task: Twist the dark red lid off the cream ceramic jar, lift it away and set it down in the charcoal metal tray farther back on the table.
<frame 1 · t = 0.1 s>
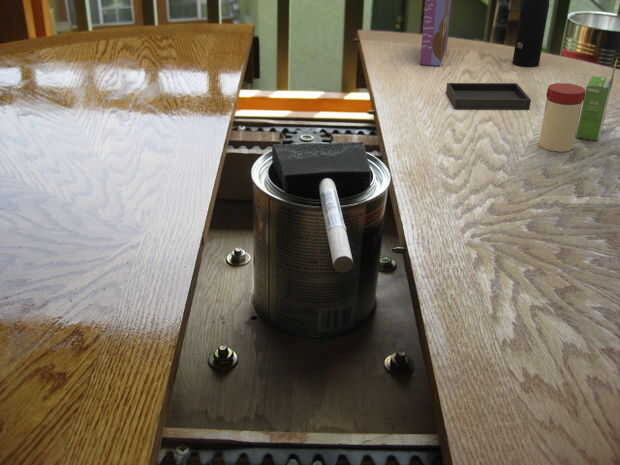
jar: (555, 145, 118), on the table
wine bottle: (525, 64, 164), on the table
tray: (486, 100, 139), on the table
jar lid: (566, 90, 112), point 10 cm above the table, screwed on, not yet turned
ink box: (588, 134, 123), on the table
cereal box: (433, 57, 170), on the table
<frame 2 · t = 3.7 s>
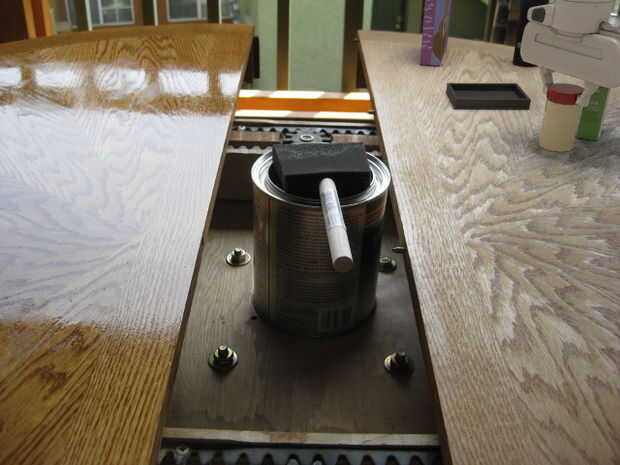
hand: (564, 99, 113), 9 cm above the table, tool pointing down, fingers closed on jar lid, 6 cm apart
jar lid: (566, 90, 112), point 10 cm above the table, screwed on, not yet turned, touching gripper
everything else where it was.
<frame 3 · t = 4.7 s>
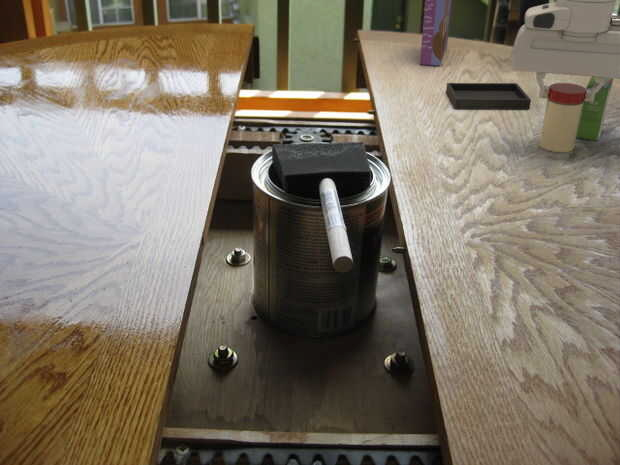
hand: (565, 99, 113), 9 cm above the table, tool pointing down, fingers closed on jar lid, 6 cm apart
jar lid: (567, 89, 112), point 10 cm above the table, turned 44° so far, risen 0.1 cm, still on its thread, touching gripper
everything else where it was.
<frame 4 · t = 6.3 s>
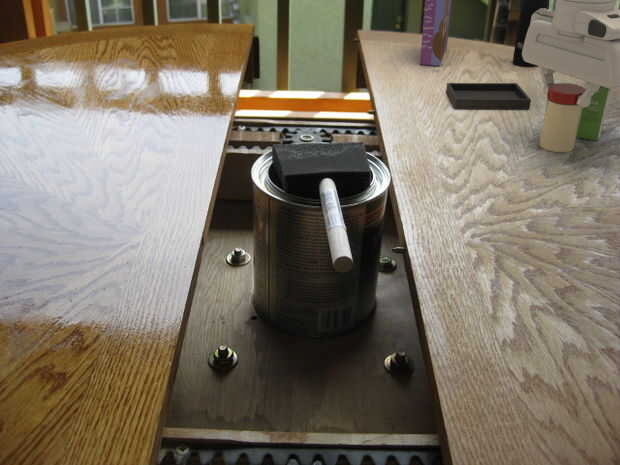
hand: (565, 99, 113), 9 cm above the table, tool pointing down, fingers closed on jar lid, 6 cm apart
jar: (556, 146, 117), on the table, touching gripper
jar lid: (567, 90, 112), point 10 cm above the table, off its thread, touching gripper
everything else where it was.
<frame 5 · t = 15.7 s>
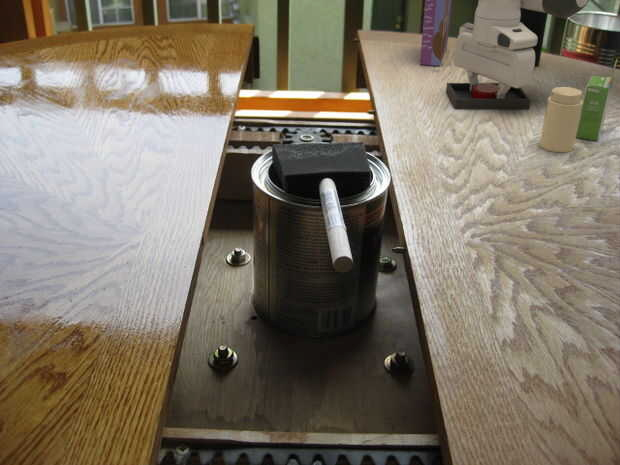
hand: (486, 97, 139), 1 cm above the table, tool pointing down, fingers closed on jar lid, 6 cm apart
jar: (556, 146, 117), on the table
jar lid: (487, 89, 138), point 2 cm above the table, off its thread, touching gripper
everything else where it was.
when the fingers open (4 cm above the table, at t = 38.4 s): jar lid drops 4 cm, resting on tray.
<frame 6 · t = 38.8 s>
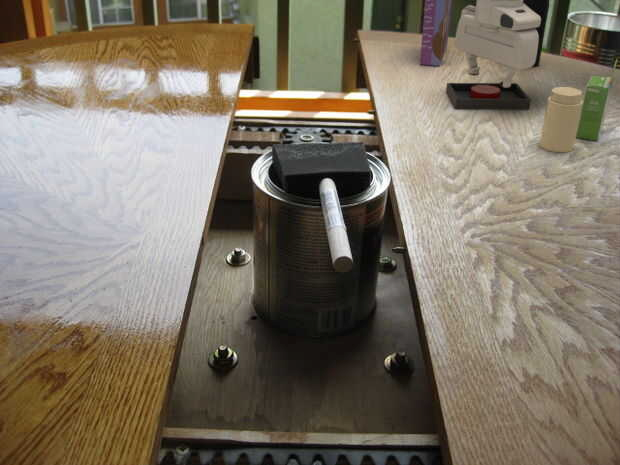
hand: (488, 80, 137), 4 cm above the table, tool pointing down, fingers open, 8 cm apart
jar lid: (485, 90, 139), point 2 cm above the table, off its thread, touching tray
everything else where it was.
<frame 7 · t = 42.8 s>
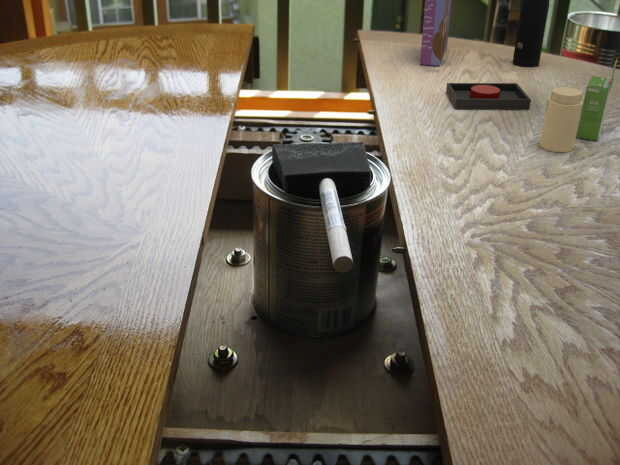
nothing on the table moved.
at the end: jar lid came off its thread; jar lid inside the target area in the tray (0.5 cm from its centre), point 2.1 cm above the tray's base; the gripper is holding nothing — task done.
